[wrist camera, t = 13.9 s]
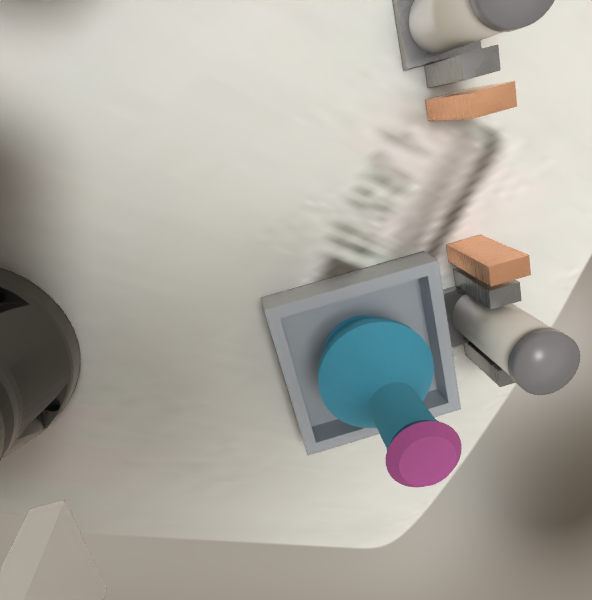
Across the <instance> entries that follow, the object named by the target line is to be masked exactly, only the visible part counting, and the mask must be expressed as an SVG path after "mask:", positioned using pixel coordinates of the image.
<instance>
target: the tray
mask: <svg viewBox="0 0 592 600" xmlns="http://www.w3.org/2000/svg"><path fill="white" fill-rule="evenodd" d="M262 303H263V308H264V312H265V315H266V319H267V322H268V325H269V329H270V332H271V335H272V339H273V342H274V345H275V348H276V352H277V355H278V358H279V362H280V365H281V368H282V372H283V375H284V378H285V382H286V385H287V388H288V392H289V395H290V398H291V402H292V405H293V408H294V412H295V415H296V418H297V422H298V425H299V428H300V432H301V435H302V438H303V442H304V445H305V448H306V452H307V455H311V454H314V453H317V452H321V451H324V450H327V449H331V448H334V447H337V446H341V445H344V444H347V443H351V442H354V441H357V440H361V439H364V438H367V437H370V436H374V435H377V434H380V433H379V431H378V429H377V428H361V427H356V426H352V425H349V424H347V423H344V422H342V421H341V420H339V419H338V418H336V417H335V416H334V415H333V414H332V413H331V412H330V411H329V410H328V409H327V407H326V406H325V404H324V402H323V401H322V398H321V395H320V392H319V386H318V375H317V374H318V367H319V362H320V359H321V356H322V353H323V350H324V346H325V343H326V340H327V338H328V337H329V335H330V333H331V332H332V331H333V330H334V328H335V327H336V326H338V325H339V324H340V323H341V322H343V321H345V320H347V319H349V318H352V317H355V316H362V315H368V316H374V317H378V318H386V319H390V320H394V321H398V322H400V323H402V324H404V325H407V326H408V327H410V328H411V329H412V330H414V331H415V332H416V333H417V334H419V335H420V336H421V337H422V338H423V339H424V341H425V342H426V343H427V345H428V347H429V349H430V351H431V353H432V357H433V362H434V375H433V380H432V384H431V386H430V389H429V391H428V393H427V395H426V397H425V399H424V400H423V403H424V404H425V405H426V407H427V408H428V410H429V411H430V412H431V414H432V415H433V417H437V416H440V415H443V414H447V413H450V412H453V411H457V410H460V409H461V406H460V400H459V393H458V387H457V380H456V373H455V367H454V360H453V354H452V347H451V341H450V334H449V328H448V321H447V315H446V308H445V301H444V295H443V288H442V282H441V275H440V269H439V262H438V260H437V259H435V258H434V257H432V256H431V255H429V254H427V253H426V252H424V251H422V252H419V253H415V254H412V255H408V256H405V257H401V258H398V259H394V260H391V261H387V262H384V263H381V264H377V265H374V266H370V267H367V268H363V269H360V270H356V271H353V272H349V273H346V274H342V275H339V276H335V277H332V278H328V279H325V280H321V281H318V282H314V283H311V284H307V285H304V286H300V287H297V288H294V289H290V290H287V291H283V292H280V293H276V294H273V295H269V296H266V297H262Z"/></svg>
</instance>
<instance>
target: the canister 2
mask: <svg viewBox="0 0 592 600" xmlns="http://www.w3.org/2000/svg"><path fill="white" fill-rule="evenodd" d="M453 323H454V325H455V327H456V329H457V330H458V331H459V332H460V333H462V334H463V335H464V336H465V337H466V338H467V339H468V340H470V341H471V342H472V343H473V344H474V345H475V346H476V347H478V348H479V349H480V350H481V351H482V352H483V353H485V354H486V355H487V356H488V357H489V358H490V359H491V360H493V361H494V362H495V363H496V364H497V365H498V366H499V367H501V368H502V369H503V370H504V371H505V372H506V373H507V374H509V375H510V376H511V378H512V379H513V380H514V381H515V382H516V383H517V384H518V385H519V386H520V387H521V388H522V389H524V390H525V391H527V392H528V393H531V394H534V395H546V394H550V393H553V392H555V391H557V390H559V389H561V388H562V387H564V386H565V385H566V384H567V383H568V382H569V381H570V380H571V379H572V378H573V376H574V375H575V373H576V371H577V369H578V366H579V363H580V351H579V348H578V346H577V344H576V342H575V341H574V340H573V339H571V338H570V337H568V336H567V335H565V334H563V333H562V332H560V331H558V330H556V329H553V328H551V327H549V326H548V325H546V324H544V323H543V322H541V321H539V320H538V319H536V318H535V317H533V316H531V315H530V314H528V313H526V312H525V311H523V310H521V309H520V308H518V307H517V306H515V305H513V304H512V303H511V304H508V305H505V306H501V307H498V308H494V309H490V308H488V307H487V306H485V305H484V304H482V303H481V302H479V301H478V300H476V299H475V298H474V297H472V296H471V295H469V294H468V293H466V294H464V295H463V296H462V297H461V298H460V299H459V300H458V301H457V303H456V305H455V307H454V310H453Z"/></svg>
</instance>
